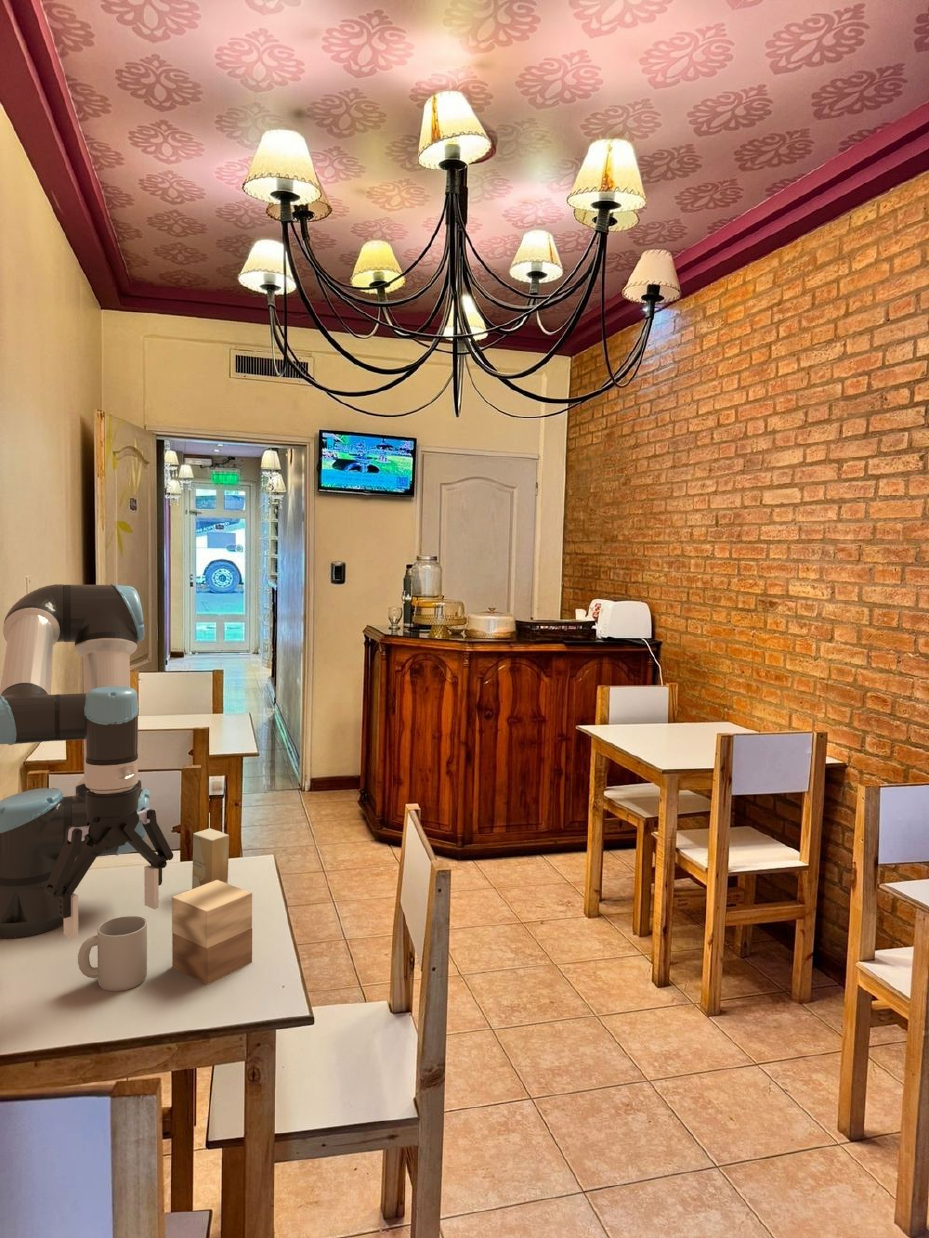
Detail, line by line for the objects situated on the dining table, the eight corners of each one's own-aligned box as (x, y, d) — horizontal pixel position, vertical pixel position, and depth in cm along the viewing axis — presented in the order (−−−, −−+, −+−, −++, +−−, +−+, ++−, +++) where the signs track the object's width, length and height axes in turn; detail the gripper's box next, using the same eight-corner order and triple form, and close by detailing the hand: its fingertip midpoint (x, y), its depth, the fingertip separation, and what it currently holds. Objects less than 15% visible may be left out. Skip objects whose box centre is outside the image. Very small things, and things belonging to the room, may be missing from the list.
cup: (148, 986, 126) (148, 931, 126) (77, 999, 122) (77, 942, 122) (145, 965, 133) (145, 912, 132) (78, 976, 129) (78, 922, 128)
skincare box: (191, 892, 162) (191, 832, 161) (209, 885, 166) (209, 827, 165) (211, 900, 159) (211, 839, 158) (229, 893, 162) (229, 833, 161)
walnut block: (172, 967, 133) (172, 932, 132) (217, 947, 140) (217, 913, 140) (207, 985, 128) (207, 948, 127) (252, 962, 135) (252, 928, 135)
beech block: (171, 932, 132) (171, 896, 132) (216, 913, 140) (217, 879, 139) (207, 948, 127) (207, 911, 127) (251, 927, 135) (252, 892, 134)
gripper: (45, 809, 113) (46, 957, 114) (195, 775, 133) (195, 900, 135) (17, 800, 117) (19, 943, 118) (167, 768, 138) (167, 890, 139)
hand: (113, 920), depth 127 cm, fingers open, 13 cm apart
